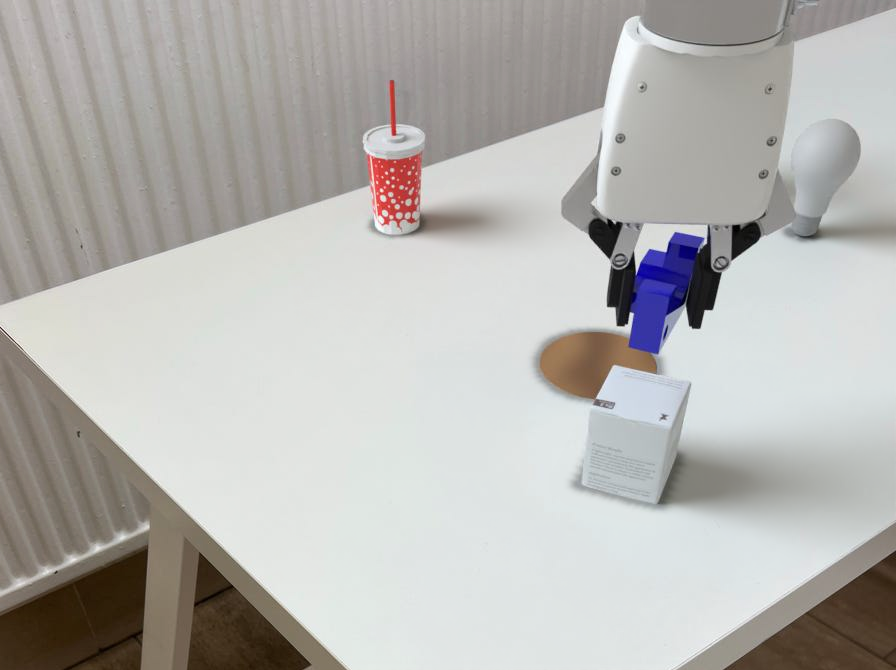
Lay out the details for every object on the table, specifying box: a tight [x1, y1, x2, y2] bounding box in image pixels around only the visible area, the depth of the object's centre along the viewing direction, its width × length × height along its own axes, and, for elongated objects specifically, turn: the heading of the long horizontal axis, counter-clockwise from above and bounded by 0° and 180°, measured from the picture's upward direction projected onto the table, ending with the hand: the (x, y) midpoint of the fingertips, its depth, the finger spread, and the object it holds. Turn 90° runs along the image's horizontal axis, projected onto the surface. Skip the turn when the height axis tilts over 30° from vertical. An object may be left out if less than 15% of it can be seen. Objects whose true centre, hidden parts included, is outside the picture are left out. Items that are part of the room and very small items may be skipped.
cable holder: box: [628, 231, 706, 355], centre depth 63 cm, size 8×4×4 cm, turn 154°
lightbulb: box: [790, 118, 862, 237], centre depth 93 cm, size 6×6×11 cm
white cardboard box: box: [581, 365, 692, 505], centre depth 72 cm, size 6×6×7 cm
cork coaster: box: [538, 331, 657, 400], centre depth 84 cm, size 10×10×1 cm
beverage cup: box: [362, 79, 426, 236], centre depth 96 cm, size 6×6×14 cm
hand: (657, 314), depth 64 cm, fingers closed on cable holder, 4 cm apart
